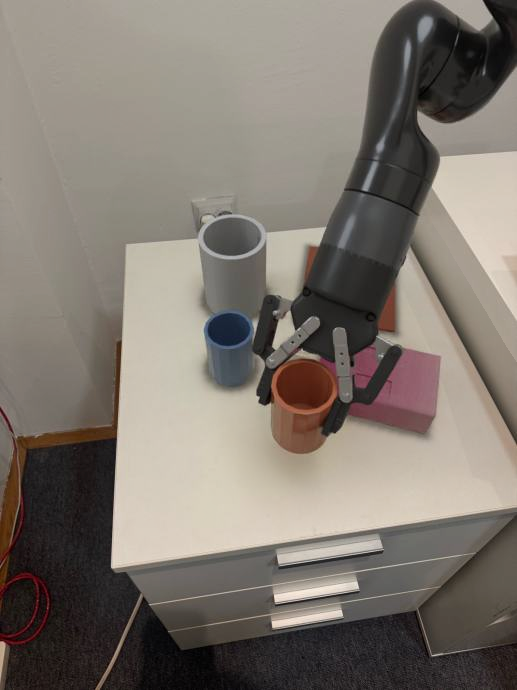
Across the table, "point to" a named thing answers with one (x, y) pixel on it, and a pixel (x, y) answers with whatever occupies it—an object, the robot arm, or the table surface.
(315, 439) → the terracotta tumbler
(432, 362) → the popsicle
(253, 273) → the cup
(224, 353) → the blue tumbler
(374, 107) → the robot arm
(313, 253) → the clay mat
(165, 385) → the table surface
